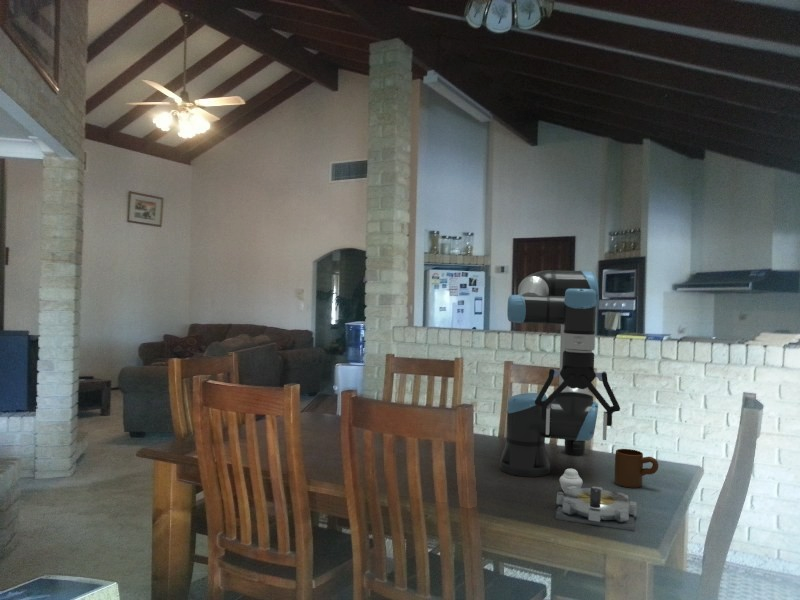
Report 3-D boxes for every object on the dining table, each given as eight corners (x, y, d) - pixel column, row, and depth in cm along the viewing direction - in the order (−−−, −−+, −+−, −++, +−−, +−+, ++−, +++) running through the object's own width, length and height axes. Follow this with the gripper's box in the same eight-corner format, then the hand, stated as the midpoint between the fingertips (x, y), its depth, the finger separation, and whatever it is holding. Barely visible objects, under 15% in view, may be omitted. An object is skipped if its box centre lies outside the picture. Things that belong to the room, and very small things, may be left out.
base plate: (555, 518, 149) (555, 514, 149) (562, 495, 166) (562, 491, 166) (634, 530, 143) (634, 526, 143) (633, 505, 160) (633, 501, 160)
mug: (661, 487, 175) (662, 455, 175) (653, 494, 170) (654, 460, 169) (619, 478, 183) (621, 447, 183) (610, 484, 177) (611, 451, 177)
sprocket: (553, 514, 149) (554, 488, 148) (560, 491, 166) (561, 467, 166) (637, 527, 142) (638, 499, 142) (635, 501, 160) (636, 476, 160)
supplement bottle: (587, 452, 211) (588, 418, 211) (581, 457, 205) (582, 421, 205) (567, 449, 215) (568, 415, 215) (561, 453, 209) (562, 418, 209)
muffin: (568, 498, 164) (569, 472, 164) (554, 491, 170) (555, 466, 169) (587, 496, 166) (588, 470, 166) (572, 488, 172) (573, 464, 172)
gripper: (526, 349, 152) (523, 434, 152) (633, 355, 145) (630, 444, 145) (528, 346, 159) (525, 428, 160) (631, 352, 152) (628, 437, 152)
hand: (575, 436), depth 152 cm, fingers open, 13 cm apart
